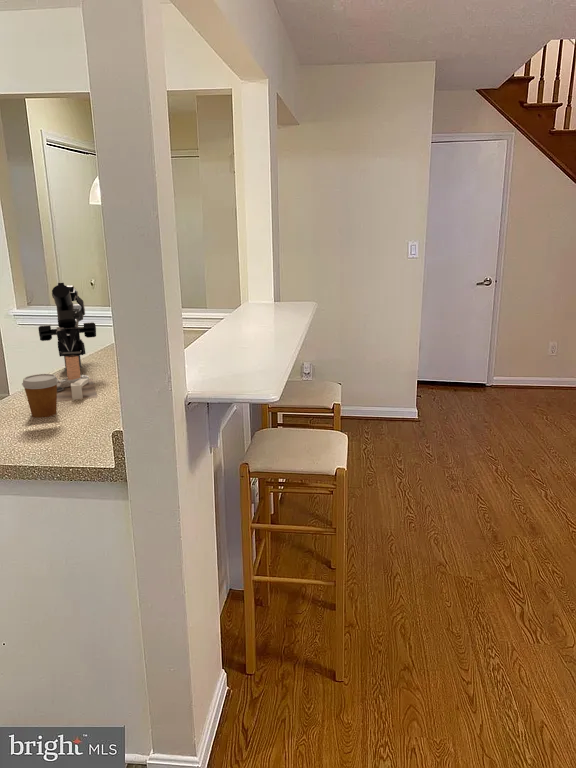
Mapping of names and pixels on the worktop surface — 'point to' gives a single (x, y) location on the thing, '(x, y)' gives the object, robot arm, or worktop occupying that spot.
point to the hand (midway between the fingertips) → (70, 351)
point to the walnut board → (87, 392)
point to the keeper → (78, 388)
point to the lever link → (71, 372)
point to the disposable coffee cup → (41, 394)
